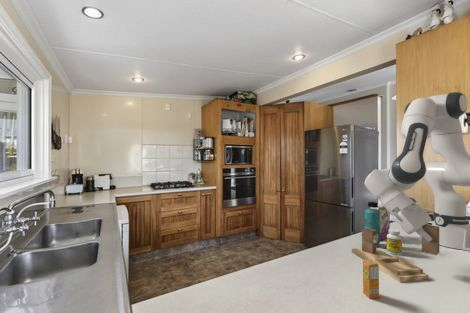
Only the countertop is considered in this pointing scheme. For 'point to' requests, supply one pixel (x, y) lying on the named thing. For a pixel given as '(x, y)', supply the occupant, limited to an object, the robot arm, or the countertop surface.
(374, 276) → the supplement box
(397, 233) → the supplement bottle
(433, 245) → the brown block
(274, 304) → the countertop surface
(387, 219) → the candy bar box
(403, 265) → the wooden tray stand
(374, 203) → the beverage bottle
